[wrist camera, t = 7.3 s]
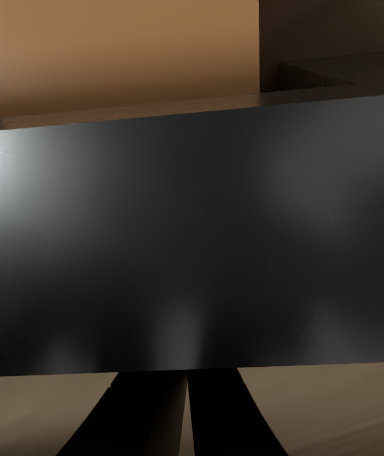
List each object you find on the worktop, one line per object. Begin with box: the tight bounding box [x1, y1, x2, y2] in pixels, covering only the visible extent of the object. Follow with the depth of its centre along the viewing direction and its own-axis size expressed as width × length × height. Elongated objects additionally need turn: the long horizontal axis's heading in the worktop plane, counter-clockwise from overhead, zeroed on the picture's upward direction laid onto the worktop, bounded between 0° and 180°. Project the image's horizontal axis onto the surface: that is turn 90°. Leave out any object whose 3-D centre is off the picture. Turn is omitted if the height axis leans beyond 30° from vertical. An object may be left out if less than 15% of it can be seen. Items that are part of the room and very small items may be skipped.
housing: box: [0, 52, 384, 376], centre depth 6 cm, size 4×16×5 cm, turn 95°
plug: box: [0, 0, 260, 118], centre depth 6 cm, size 10×4×3 cm, turn 7°
